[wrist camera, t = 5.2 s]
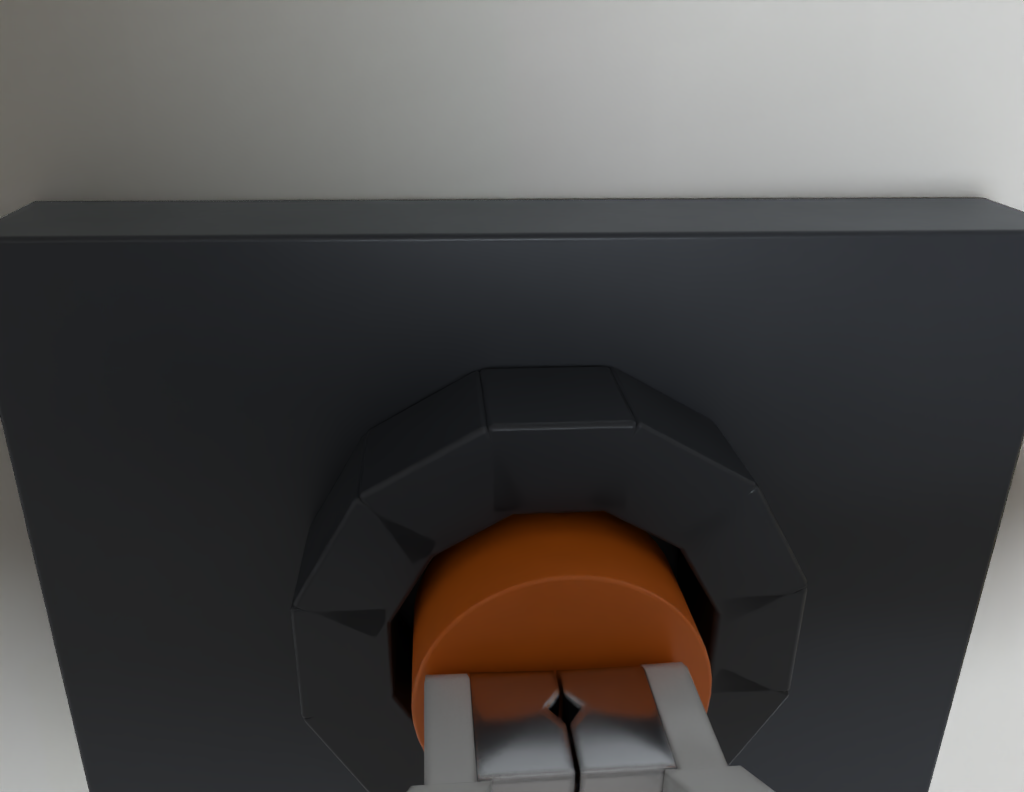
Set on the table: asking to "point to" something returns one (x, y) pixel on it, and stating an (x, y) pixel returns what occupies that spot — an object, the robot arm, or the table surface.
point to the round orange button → (552, 603)
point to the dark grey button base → (504, 458)
